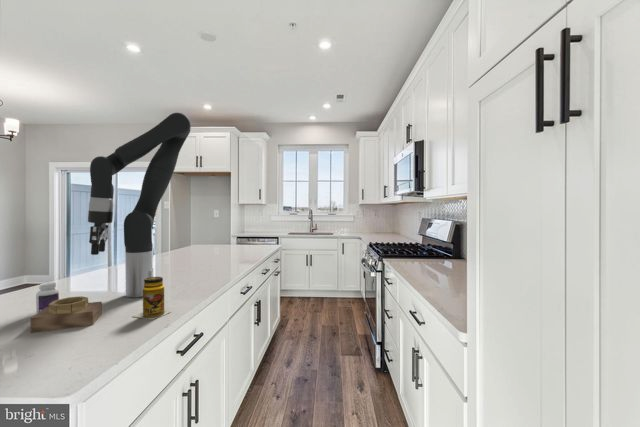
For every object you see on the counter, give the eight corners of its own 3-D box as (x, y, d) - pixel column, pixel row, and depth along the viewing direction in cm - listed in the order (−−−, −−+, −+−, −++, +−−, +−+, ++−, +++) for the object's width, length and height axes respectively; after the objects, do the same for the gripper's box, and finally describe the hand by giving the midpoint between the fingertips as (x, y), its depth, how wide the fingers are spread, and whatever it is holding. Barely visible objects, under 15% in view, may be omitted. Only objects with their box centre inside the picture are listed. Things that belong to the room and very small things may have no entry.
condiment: (153, 320, 92) (152, 281, 92) (132, 317, 95) (131, 279, 95) (171, 312, 99) (171, 276, 99) (151, 309, 102) (151, 274, 101)
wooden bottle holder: (101, 313, 97) (101, 293, 97) (92, 324, 88) (92, 302, 88) (46, 319, 92) (46, 298, 92) (30, 332, 83) (30, 309, 82)
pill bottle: (63, 311, 99) (62, 282, 99) (43, 317, 94) (43, 286, 94) (52, 309, 101) (52, 281, 101) (32, 315, 96) (32, 285, 95)
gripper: (108, 211, 108) (105, 255, 108) (117, 210, 121) (114, 250, 121) (82, 209, 105) (79, 255, 105) (94, 209, 118) (91, 250, 118)
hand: (98, 253), depth 113 cm, fingers open, 8 cm apart
